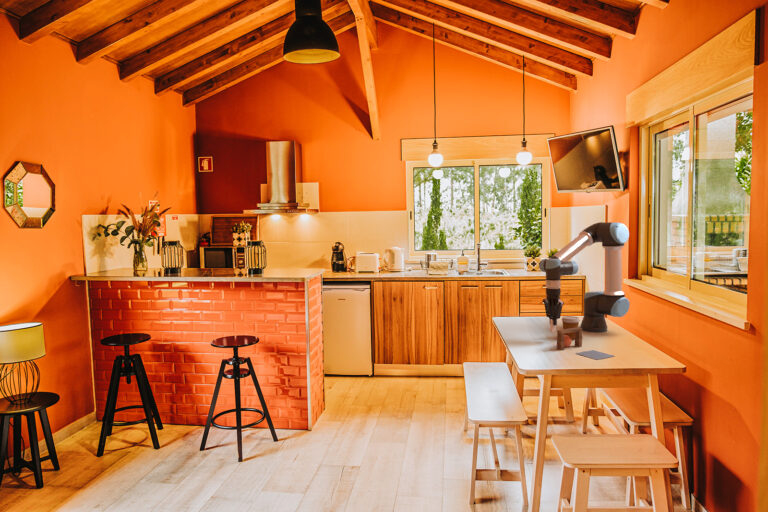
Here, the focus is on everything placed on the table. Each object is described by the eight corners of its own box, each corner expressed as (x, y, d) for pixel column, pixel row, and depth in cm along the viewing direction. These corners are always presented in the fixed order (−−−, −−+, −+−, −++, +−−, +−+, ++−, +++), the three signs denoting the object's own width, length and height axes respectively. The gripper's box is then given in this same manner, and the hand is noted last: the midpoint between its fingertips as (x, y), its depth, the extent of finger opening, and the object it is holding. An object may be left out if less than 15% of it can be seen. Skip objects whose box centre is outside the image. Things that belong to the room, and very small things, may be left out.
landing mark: (593, 350, 263) (593, 350, 263) (615, 356, 252) (615, 356, 252) (575, 353, 257) (575, 353, 257) (596, 359, 246) (596, 359, 246)
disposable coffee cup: (580, 341, 283) (581, 319, 282) (562, 340, 285) (562, 318, 284) (577, 337, 292) (578, 316, 291) (560, 336, 294) (560, 315, 293)
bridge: (556, 348, 266) (557, 330, 266) (577, 345, 274) (577, 327, 273) (561, 350, 264) (561, 331, 263) (581, 346, 271) (582, 328, 270)
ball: (574, 346, 270) (564, 347, 274) (573, 334, 271) (562, 335, 276) (568, 346, 266) (558, 347, 271) (567, 334, 268) (556, 335, 272)
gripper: (539, 286, 281) (539, 329, 283) (557, 289, 269) (557, 334, 272) (549, 285, 284) (549, 327, 287) (567, 288, 273) (567, 332, 275)
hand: (553, 330), depth 279 cm, fingers closed
